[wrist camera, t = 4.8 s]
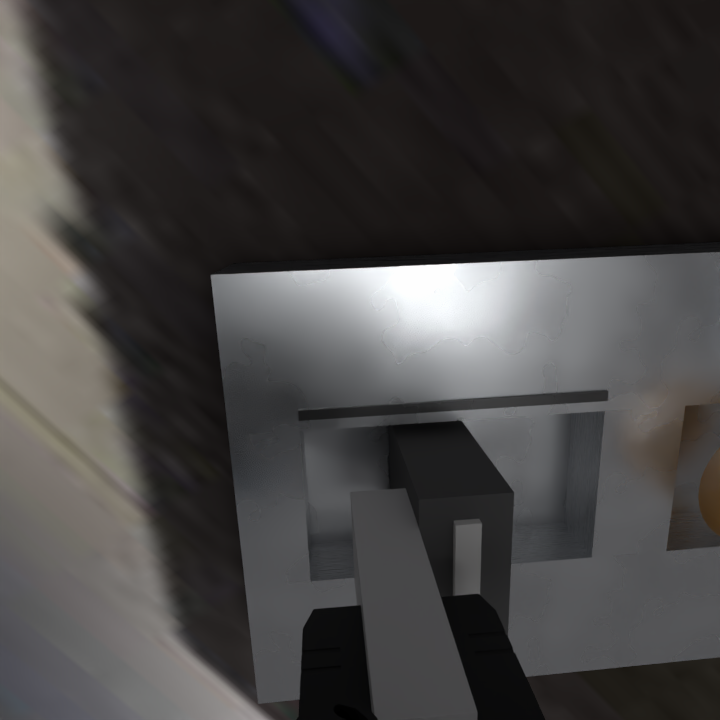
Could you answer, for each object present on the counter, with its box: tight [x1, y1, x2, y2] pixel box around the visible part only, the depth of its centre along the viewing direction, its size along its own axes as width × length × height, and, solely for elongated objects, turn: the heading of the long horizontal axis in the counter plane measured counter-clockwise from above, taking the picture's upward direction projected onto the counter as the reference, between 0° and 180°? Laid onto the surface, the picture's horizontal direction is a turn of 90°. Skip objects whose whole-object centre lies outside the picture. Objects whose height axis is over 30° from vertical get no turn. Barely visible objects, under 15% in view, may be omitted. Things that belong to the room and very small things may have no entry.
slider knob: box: [388, 420, 514, 636], centre depth 15 cm, size 2×4×5 cm, turn 2°
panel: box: [211, 242, 720, 704], centre depth 18 cm, size 28×14×5 cm, turn 92°
